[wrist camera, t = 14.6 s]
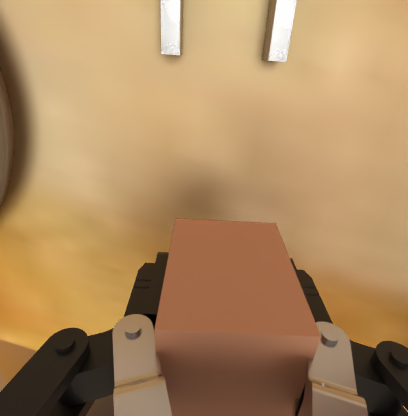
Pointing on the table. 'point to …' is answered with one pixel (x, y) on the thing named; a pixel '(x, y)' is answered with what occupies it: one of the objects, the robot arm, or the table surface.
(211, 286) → the block
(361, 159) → the table surface
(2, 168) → the plant saucer
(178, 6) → the rectangular frame
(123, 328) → the robot arm
